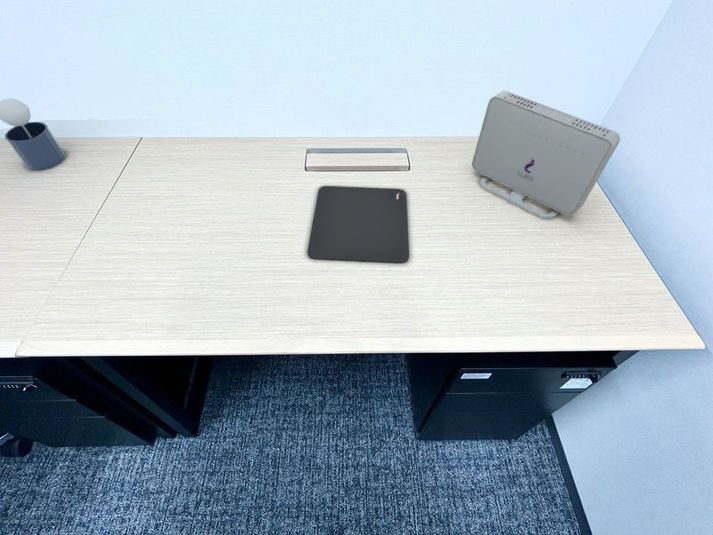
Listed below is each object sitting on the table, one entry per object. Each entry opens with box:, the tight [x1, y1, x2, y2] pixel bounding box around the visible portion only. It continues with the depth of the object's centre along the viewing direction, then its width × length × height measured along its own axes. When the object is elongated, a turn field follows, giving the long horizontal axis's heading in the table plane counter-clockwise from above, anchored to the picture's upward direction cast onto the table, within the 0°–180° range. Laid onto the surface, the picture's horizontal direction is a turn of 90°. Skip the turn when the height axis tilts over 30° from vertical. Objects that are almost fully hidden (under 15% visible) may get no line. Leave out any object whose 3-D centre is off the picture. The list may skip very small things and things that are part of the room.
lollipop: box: [0, 97, 32, 139], centre depth 93 cm, size 6×6×15 cm
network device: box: [471, 90, 621, 220], centre depth 85 cm, size 26×9×20 cm, turn 47°
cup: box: [4, 121, 66, 172], centre depth 96 cm, size 9×9×8 cm
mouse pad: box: [307, 185, 410, 264], centre depth 86 cm, size 23×20×1 cm
